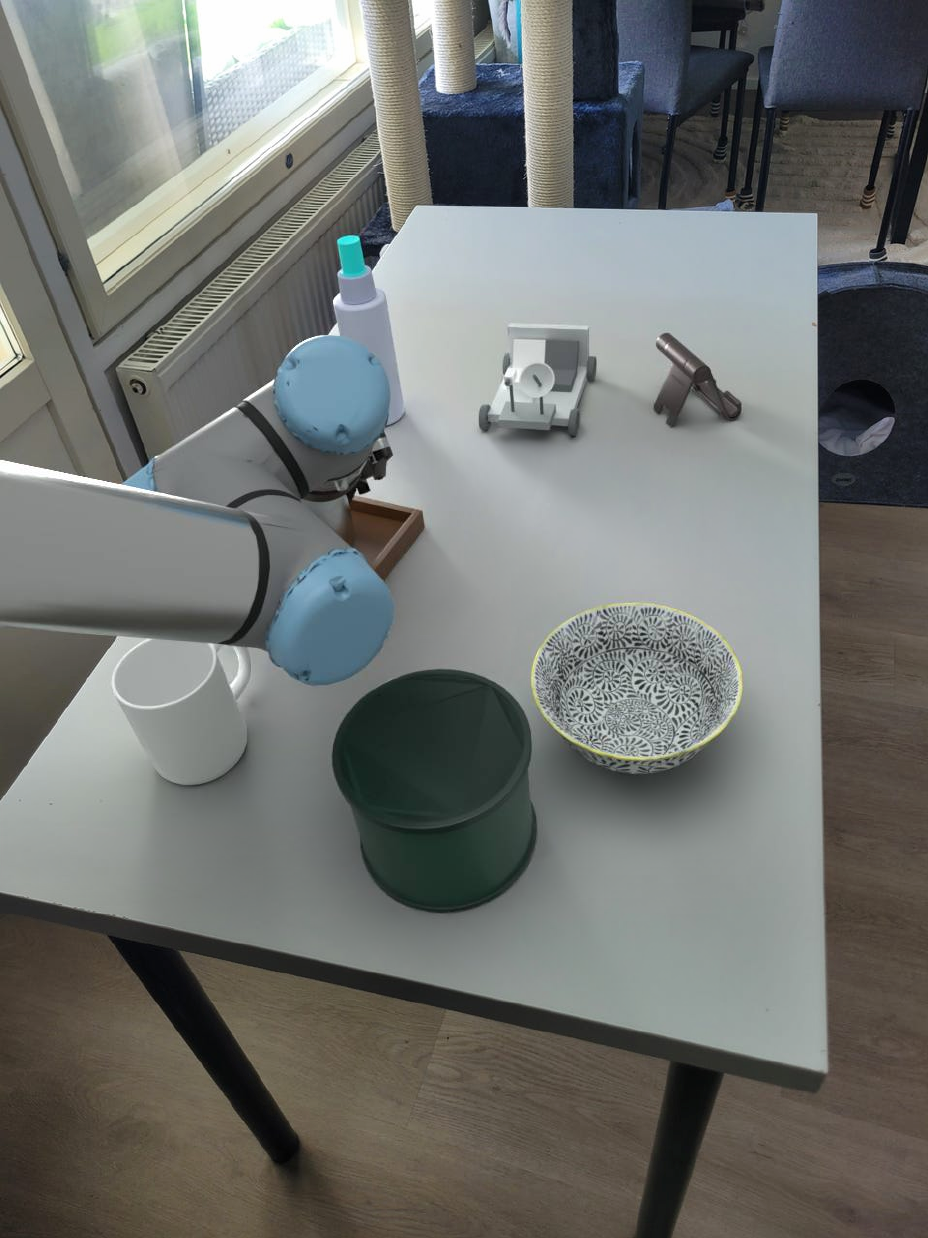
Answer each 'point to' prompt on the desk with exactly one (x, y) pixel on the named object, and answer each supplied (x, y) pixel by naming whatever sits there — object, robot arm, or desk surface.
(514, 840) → the bucket
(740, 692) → the bowl
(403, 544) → the tray
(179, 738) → the cup
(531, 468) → the desk surface
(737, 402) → the tablet stand
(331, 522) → the silver cup
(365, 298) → the spray bottle
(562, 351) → the toy car
